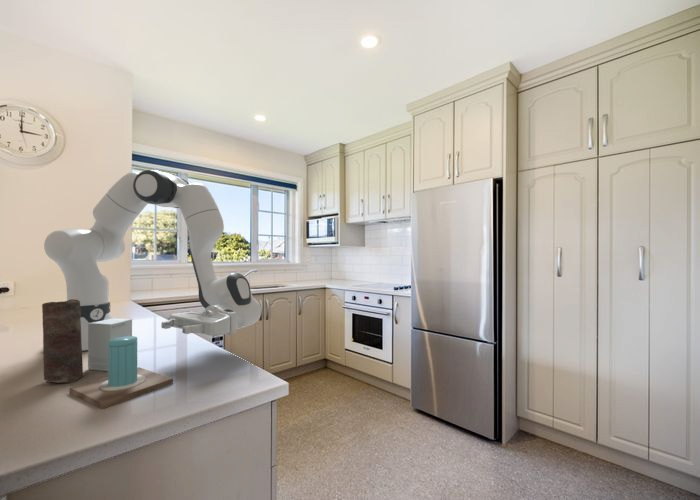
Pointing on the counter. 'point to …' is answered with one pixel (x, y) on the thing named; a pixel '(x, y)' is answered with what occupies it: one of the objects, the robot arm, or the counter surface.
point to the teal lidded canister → (122, 361)
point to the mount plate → (119, 388)
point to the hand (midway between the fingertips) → (173, 328)
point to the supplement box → (104, 340)
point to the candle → (62, 341)
